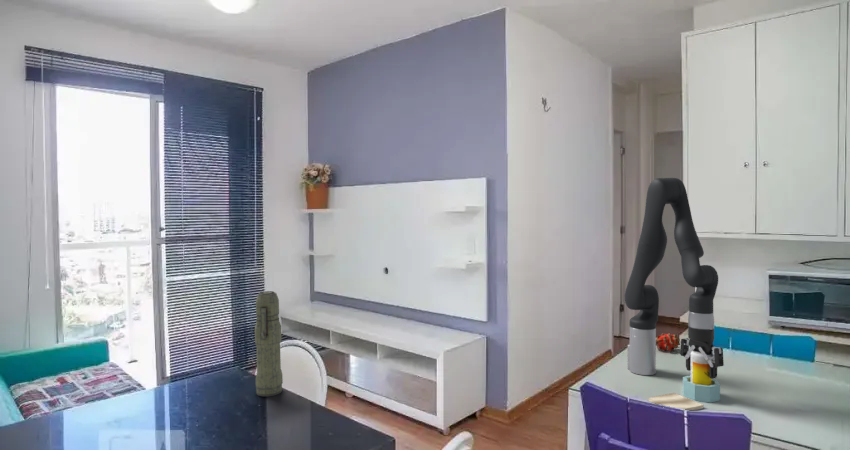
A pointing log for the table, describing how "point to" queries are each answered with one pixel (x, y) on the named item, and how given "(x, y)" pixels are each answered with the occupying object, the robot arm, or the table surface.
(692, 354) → the beer can
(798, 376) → the table surface
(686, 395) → the can holder
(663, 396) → the birch board
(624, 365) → the table surface
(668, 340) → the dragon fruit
